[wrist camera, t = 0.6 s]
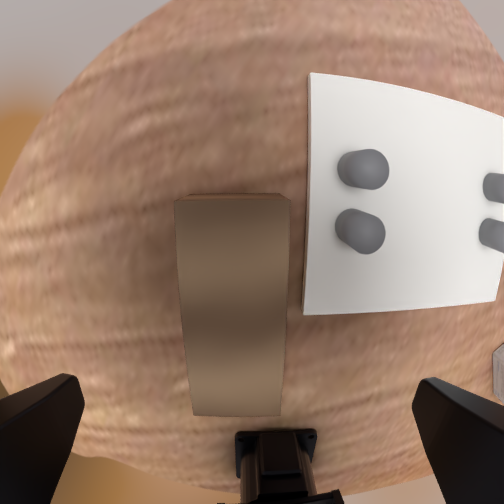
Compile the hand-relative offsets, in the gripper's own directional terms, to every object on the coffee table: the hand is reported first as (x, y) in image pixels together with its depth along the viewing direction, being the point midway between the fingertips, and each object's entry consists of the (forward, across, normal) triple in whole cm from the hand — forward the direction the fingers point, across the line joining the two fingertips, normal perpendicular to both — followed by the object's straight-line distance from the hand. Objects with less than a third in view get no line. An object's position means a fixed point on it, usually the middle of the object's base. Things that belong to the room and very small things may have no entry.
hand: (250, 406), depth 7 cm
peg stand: (+12, -11, -5) cm, 17 cm away
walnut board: (+12, +1, +2) cm, 12 cm away
